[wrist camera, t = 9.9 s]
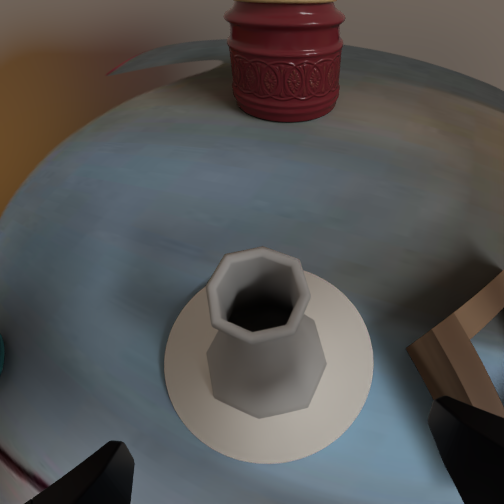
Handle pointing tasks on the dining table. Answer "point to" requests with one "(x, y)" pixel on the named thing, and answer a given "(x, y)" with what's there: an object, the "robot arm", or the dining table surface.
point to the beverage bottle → (1, 353)
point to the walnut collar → (461, 352)
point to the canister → (285, 57)
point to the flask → (262, 334)
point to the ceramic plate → (284, 425)
